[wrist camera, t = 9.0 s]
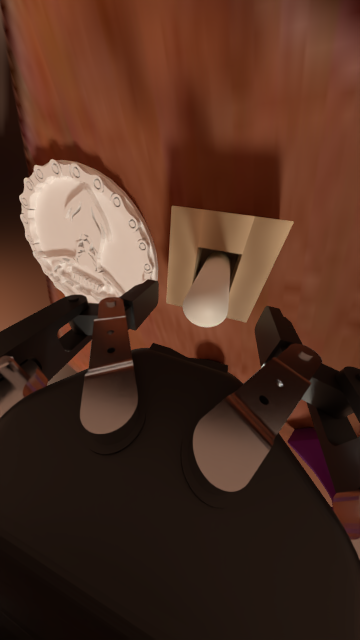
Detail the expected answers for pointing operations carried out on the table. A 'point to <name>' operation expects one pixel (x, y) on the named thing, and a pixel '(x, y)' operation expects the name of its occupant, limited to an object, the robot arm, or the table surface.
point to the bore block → (231, 237)
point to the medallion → (86, 231)
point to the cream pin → (209, 292)
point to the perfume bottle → (312, 455)
